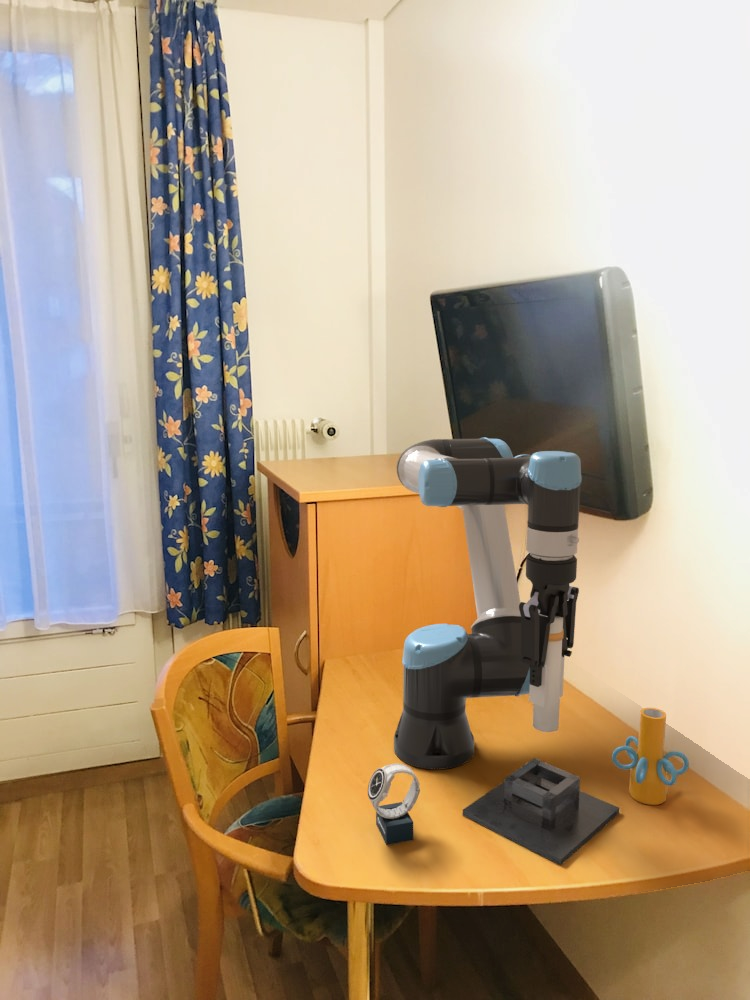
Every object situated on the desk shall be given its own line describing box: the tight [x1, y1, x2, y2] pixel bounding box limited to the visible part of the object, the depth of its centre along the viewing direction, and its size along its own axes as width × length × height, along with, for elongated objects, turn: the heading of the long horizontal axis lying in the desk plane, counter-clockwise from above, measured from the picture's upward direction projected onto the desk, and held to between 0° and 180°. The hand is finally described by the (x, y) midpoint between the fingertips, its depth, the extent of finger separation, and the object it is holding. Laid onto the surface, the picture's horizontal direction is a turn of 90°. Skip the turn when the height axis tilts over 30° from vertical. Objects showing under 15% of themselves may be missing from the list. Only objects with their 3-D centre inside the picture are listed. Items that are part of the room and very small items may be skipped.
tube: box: [532, 614, 564, 733], centre depth 121 cm, size 4×4×18 cm
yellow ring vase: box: [611, 707, 690, 806], centre depth 129 cm, size 12×10×15 cm
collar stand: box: [462, 757, 620, 866], centre depth 125 cm, size 18×18×6 cm
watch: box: [367, 763, 421, 846], centre depth 120 cm, size 6×8×11 cm
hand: (546, 698), depth 121 cm, fingers closed on tube, 4 cm apart
